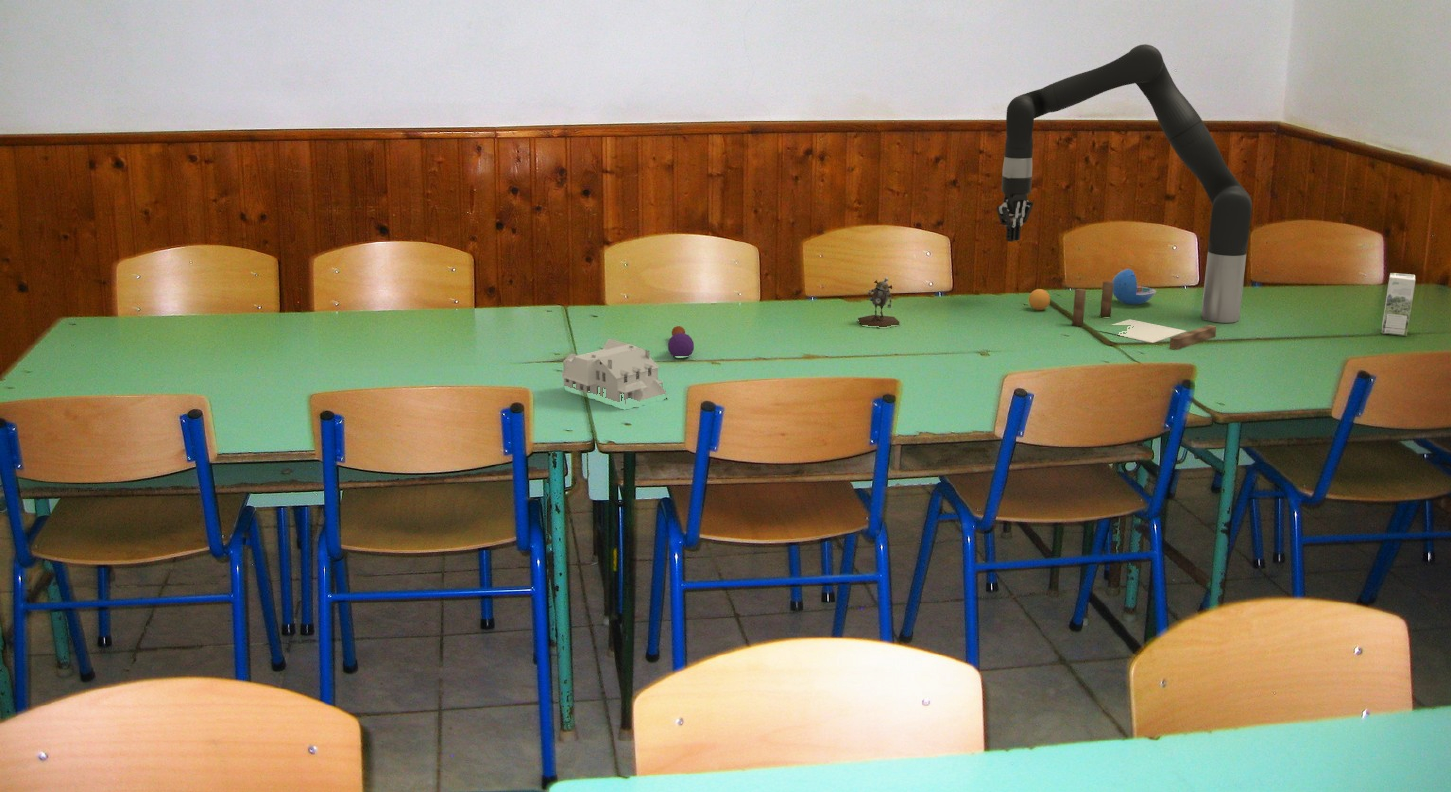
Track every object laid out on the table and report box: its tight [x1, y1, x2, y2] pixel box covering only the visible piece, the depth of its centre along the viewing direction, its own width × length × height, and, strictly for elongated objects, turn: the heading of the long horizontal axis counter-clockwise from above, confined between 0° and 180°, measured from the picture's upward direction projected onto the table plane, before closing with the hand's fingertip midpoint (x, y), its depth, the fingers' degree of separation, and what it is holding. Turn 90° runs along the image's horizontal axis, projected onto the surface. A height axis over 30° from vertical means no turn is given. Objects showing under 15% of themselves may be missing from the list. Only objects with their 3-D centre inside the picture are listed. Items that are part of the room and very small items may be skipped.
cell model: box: [1111, 268, 1157, 306], centre depth 369 cm, size 10×12×10 cm
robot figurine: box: [857, 276, 900, 327], centre depth 347 cm, size 11×9×12 cm
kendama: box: [667, 325, 695, 357], centre depth 325 cm, size 6×6×20 cm
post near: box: [1072, 288, 1087, 327], centre depth 347 cm, size 3×3×9 cm
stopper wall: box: [1169, 324, 1217, 350], centre depth 332 cm, size 18×2×2 cm, turn 133°
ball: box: [1028, 288, 1051, 311], centre depth 363 cm, size 6×6×6 cm
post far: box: [1099, 281, 1114, 318], centre depth 355 cm, size 3×3×9 cm
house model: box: [561, 338, 667, 404], centre depth 290 cm, size 19×20×10 cm
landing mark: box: [1111, 318, 1188, 344], centre depth 342 cm, size 16×16×1 cm
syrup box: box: [1381, 272, 1416, 337], centre depth 340 cm, size 6×6×14 cm
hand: (1012, 240), depth 365 cm, fingers closed
